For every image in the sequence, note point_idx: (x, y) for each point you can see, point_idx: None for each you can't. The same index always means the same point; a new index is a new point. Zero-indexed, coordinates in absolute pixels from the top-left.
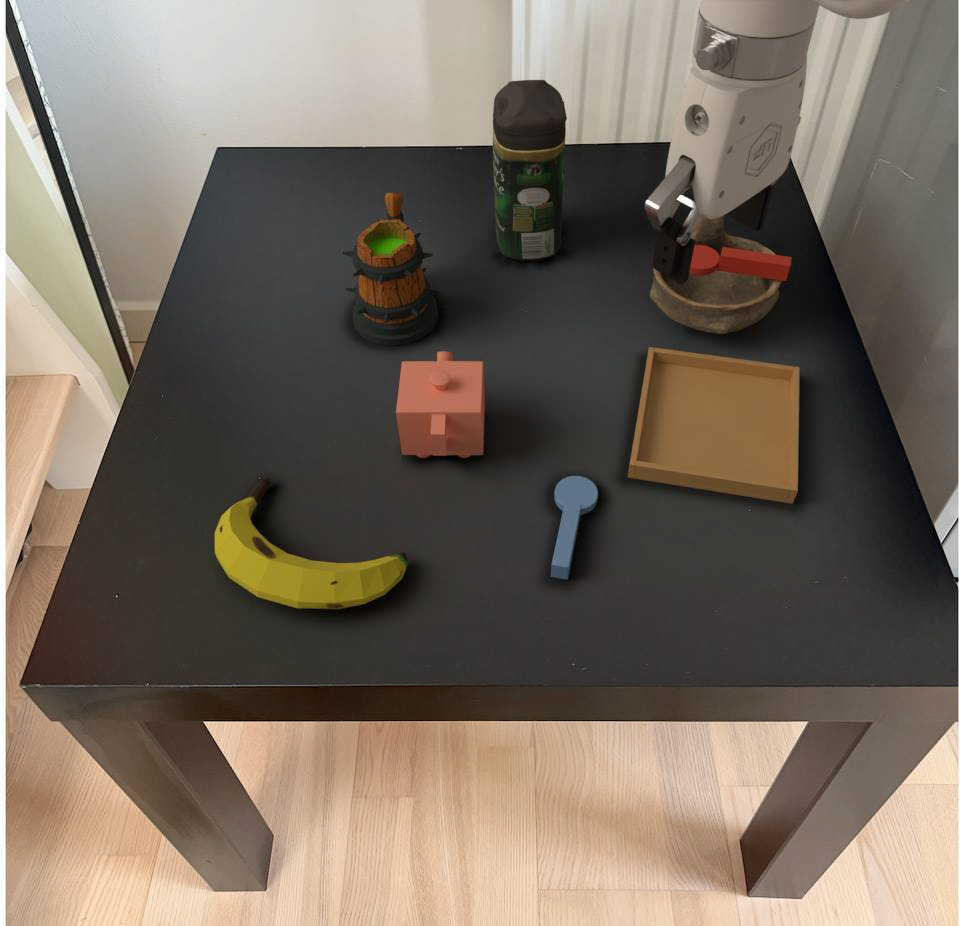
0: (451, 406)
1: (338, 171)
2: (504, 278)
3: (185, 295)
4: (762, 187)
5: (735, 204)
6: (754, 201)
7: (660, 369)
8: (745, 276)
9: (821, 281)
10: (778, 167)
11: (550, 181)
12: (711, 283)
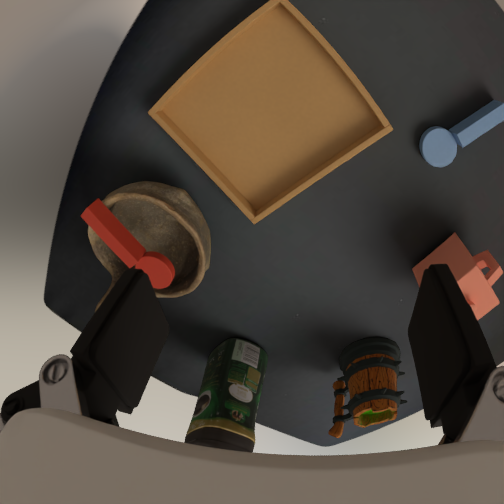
0: (481, 284)
1: (291, 428)
2: (282, 343)
3: (421, 407)
4: (145, 461)
5: (396, 489)
6: (123, 340)
7: (258, 198)
8: None
9: (68, 191)
10: (43, 472)
11: (225, 399)
12: (145, 244)
